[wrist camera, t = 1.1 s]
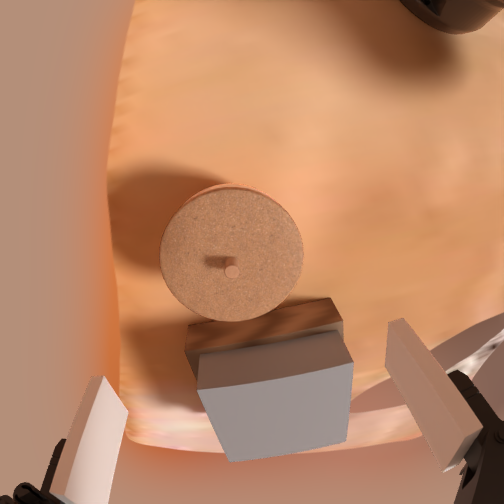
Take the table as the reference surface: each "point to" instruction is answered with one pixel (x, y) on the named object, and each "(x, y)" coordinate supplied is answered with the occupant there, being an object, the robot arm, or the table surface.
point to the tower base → (262, 329)
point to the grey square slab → (278, 396)
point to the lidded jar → (231, 253)
